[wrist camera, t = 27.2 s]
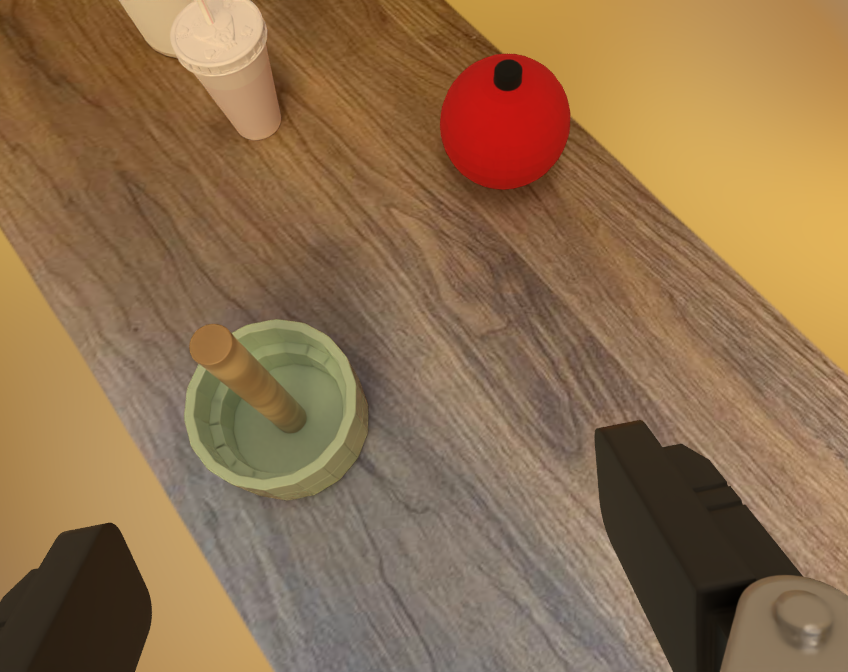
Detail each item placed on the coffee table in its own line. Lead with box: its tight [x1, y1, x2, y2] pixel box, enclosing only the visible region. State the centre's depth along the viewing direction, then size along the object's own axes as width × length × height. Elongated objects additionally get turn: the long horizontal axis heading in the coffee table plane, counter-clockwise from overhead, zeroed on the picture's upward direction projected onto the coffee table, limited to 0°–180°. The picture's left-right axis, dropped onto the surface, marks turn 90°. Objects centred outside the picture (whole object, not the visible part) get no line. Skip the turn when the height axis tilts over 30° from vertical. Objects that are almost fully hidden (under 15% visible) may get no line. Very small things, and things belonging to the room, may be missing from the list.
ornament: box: [440, 54, 570, 190], centre depth 47 cm, size 9×9×10 cm
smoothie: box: [170, 0, 281, 140], centre depth 48 cm, size 6×6×14 cm
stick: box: [189, 324, 307, 433], centre depth 38 cm, size 2×2×15 cm
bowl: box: [184, 319, 368, 500], centre depth 43 cm, size 10×10×6 cm
